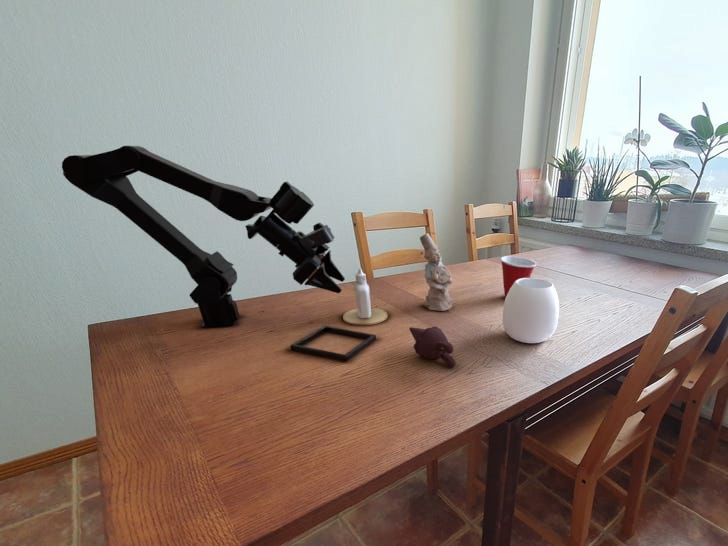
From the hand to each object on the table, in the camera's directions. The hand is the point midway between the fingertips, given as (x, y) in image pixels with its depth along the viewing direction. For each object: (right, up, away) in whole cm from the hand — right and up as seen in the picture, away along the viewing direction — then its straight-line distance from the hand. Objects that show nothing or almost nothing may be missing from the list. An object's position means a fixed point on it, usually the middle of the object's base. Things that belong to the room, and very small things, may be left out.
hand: (342, 285), depth 91 cm
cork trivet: (+4, -7, +5) cm, 10 cm away
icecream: (+23, -18, -12) cm, 32 cm away
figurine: (+22, -3, +14) cm, 26 cm away
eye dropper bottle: (+4, -7, +5) cm, 9 cm away
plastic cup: (+45, +1, +24) cm, 51 cm away
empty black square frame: (+2, -15, -10) cm, 18 cm away
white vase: (+46, -13, 0) cm, 47 cm away
